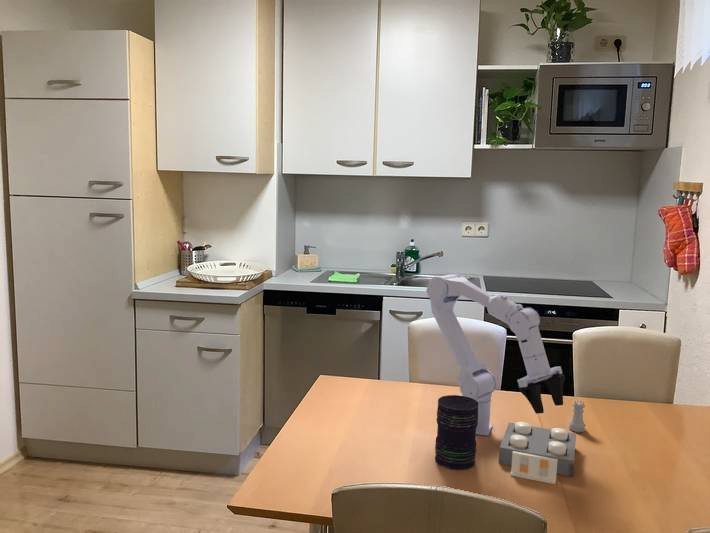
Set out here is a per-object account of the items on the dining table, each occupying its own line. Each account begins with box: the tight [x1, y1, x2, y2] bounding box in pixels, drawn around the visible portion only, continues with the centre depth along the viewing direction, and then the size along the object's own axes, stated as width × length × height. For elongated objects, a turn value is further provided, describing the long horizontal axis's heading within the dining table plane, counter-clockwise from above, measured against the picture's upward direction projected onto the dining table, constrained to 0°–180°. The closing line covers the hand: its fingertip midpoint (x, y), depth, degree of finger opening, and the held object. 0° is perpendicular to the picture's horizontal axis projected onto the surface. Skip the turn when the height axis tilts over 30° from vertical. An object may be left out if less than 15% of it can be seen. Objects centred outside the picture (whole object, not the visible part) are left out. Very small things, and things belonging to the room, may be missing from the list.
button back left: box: [515, 421, 532, 435], centre depth 159 cm, size 4×4×3 cm
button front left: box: [509, 435, 528, 449], centre depth 150 cm, size 4×4×3 cm
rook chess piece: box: [568, 399, 586, 433], centre depth 170 cm, size 4×4×8 cm
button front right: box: [547, 441, 567, 456], centre depth 147 cm, size 4×4×3 cm
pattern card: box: [509, 451, 558, 485], centre depth 142 cm, size 10×3×5 cm, turn 69°
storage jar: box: [434, 394, 478, 471], centre depth 148 cm, size 10×10×15 cm
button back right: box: [551, 427, 569, 441], centre depth 155 cm, size 4×4×3 cm
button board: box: [498, 422, 577, 478], centre depth 153 cm, size 17×17×4 cm
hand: (549, 409), depth 153 cm, fingers open, 7 cm apart
